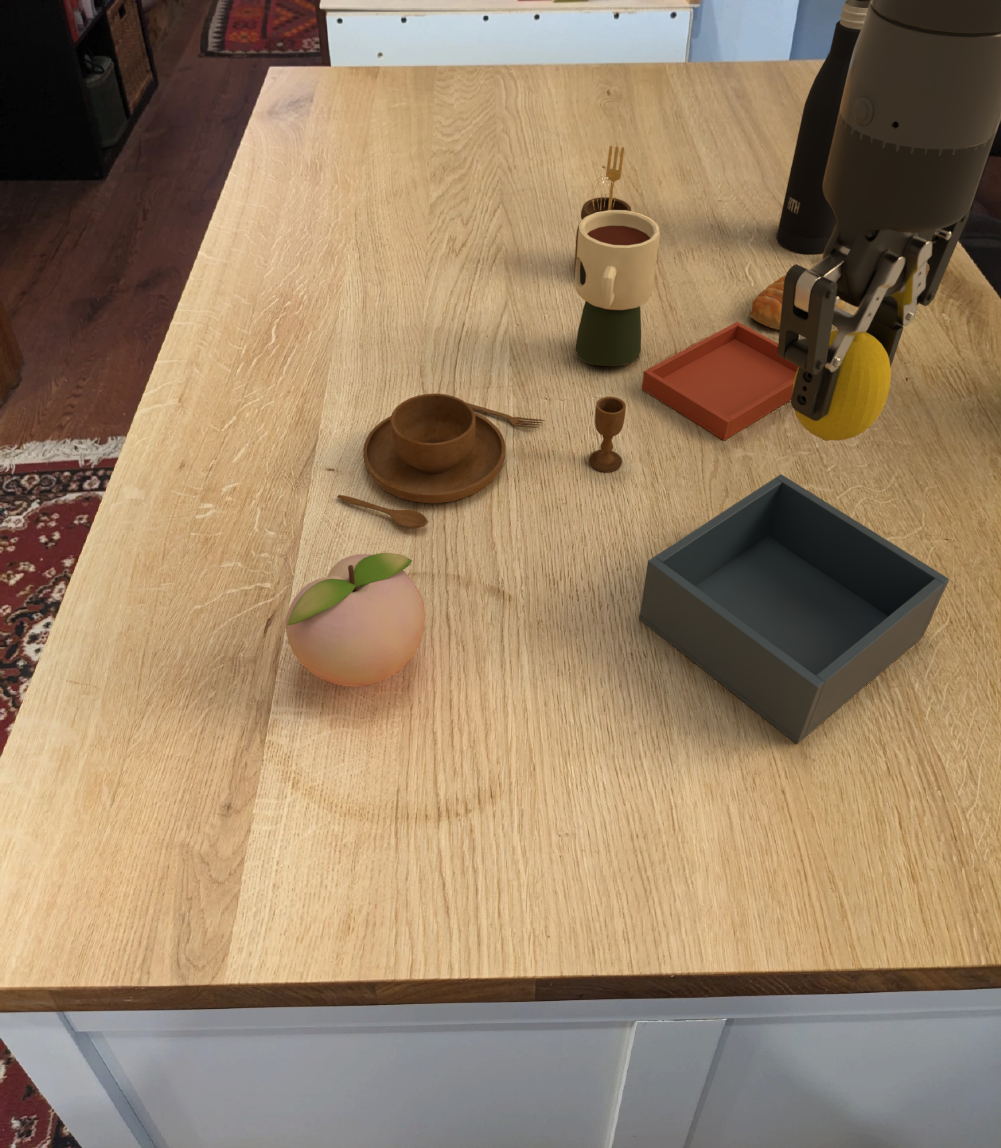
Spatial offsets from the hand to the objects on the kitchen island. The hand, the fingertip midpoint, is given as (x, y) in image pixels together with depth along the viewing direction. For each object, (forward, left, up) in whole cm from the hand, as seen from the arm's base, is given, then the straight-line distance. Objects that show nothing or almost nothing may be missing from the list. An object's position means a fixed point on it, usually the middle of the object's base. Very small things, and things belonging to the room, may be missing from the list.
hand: (839, 391), depth 62 cm
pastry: (-33, -24, -19) cm, 45 cm away
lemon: (0, 0, -4) cm, 4 cm away
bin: (+2, +2, -19) cm, 19 cm away
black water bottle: (-46, -33, -19) cm, 60 cm away
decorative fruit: (+27, -14, -19) cm, 36 cm away
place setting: (+8, -25, -19) cm, 32 cm away
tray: (-18, -20, -19) cm, 33 cm away
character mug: (-13, -31, -19) cm, 39 cm away
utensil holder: (-24, -43, -19) cm, 53 cm away
